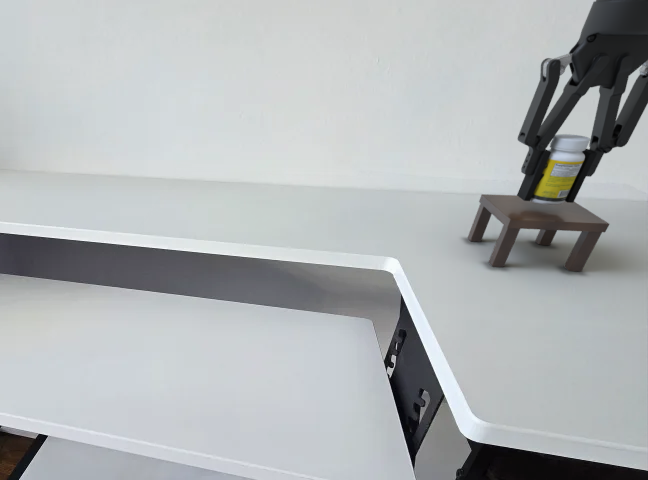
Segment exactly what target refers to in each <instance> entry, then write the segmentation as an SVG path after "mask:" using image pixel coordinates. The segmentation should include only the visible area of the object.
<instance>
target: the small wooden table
mask: <svg viewBox="0 0 648 480" xmlns="http://www.w3.org/2000/svg"><path fill="white" fill-rule="evenodd" d="M478 202H479V206H478V209H477V212H476V214H475V216H474V219H473V222H472V224H471V227H470V230H469V233H468V236H467V239H468V240H469V242H474V243H475V242H478V243H479V242H482V240H483V237H484V235H485V232H486V230H487V227H488V225H489V222H490V220H491V217H492V216H494V218H496V219H497V221H499V222H500V223H501V224H502V228H501V229H500V230H501V231H500V232H499V235H498V237H497V240H496V242H495V245H494V248H493V250H492V252H491V254H490V257H489V259H488V264H489V265H490V266H491V267H493V268H494V267H495V268H496V267H497V268H504V267H505V265H506V263H507V261H508V258H509V256H510V254H511V251H512V249H513V247H514V244H515V242H516V240H517V238H518V235H519V233H520V230H539V232H538V233H537V236H536V238H535V240H534V241H535V243H537V244H538V245H539V246H540V245H541V246H551V245H552V243H553V240H554V238H555V236H556V234H557V232H558V231H566V232H580V234H579V236H578V238H577V240H576V241H575V244H574V246H573V247H572V249H571V252H570V253H569V255H568V258H567V259H566V261H565V263H564V265H563V267H564V268H565V269H566V270H567V271H569V272H582V271H583V268H584V267H585V265H586V264H587V262H588V260H589V258H590V256H591V254H592V252H593V250H594V248H595V247H596V245H597V243H598V241H599V239H600V237H601V235H602V233H606V232H607V230H608V228H609V226H610V222H607V221H606V220H604V219H603V218H601V217H599V216H598V215H596V214H595V213H593V212H591V211H590V210H588V209H587V208H585V207H584V206H582V205H581V204H579V203H577V202H576V201H574V202H573V203H569V202H566V201H564V202H563V203H562V204H559V205H546V204H538V203H534V202H531V201H524V200H522V199H521V198H520V197H519V196H517V194H516V195H515V194H513V195H512V194H489V193H488V194H486V193H485V194H484V193H482V194H481V195H480V197H479V200H478Z"/></svg>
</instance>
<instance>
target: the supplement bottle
mask: <svg viewBox="0 0 648 480" xmlns="http://www.w3.org/2000/svg"><path fill="white" fill-rule="evenodd" d="M590 139H591V137H588V136H586V135H585V136H584V135H578V134H570V133H569V134H567V133H562V134H561V133H560V134H556V135H555V136H554V138H553V139H552V140H551V142H550V143H549V149H547V150H548V151H550V152H551V154H550V156H549V159H548V161H547V163H546V166H545V168H544V170H543V173H542V175H541V177H540V179H539V182H538V184H537V186H536V189H535V191H534V193H533V196H532V198H531V200H530V201H531V202H534V203H538V204H546V205H559V204H562V203H563V202H564V201H565V199H566V197H567V195H568V193H569V191H570V189H571V187H572V185H573V183H574V180H575V178H576V176H577V174H578V172H579V170H580V168H581V166H582V164H583V162H584V159H585V155H584V154H583V153H582V151H584V150H586V149H588V146H589V144H590Z"/></svg>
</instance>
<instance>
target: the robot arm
mask: <svg viewBox="0 0 648 480" xmlns="http://www.w3.org/2000/svg"><path fill="white" fill-rule="evenodd" d="M568 66H569V69H570V74H571V76H570V78H569V79H568V81H567V83H565V85H564V87H563V90H562V93H561V94H560V96H559V98H558V99H557V100H556V102H555V104H554V105H553V107H552V108H551V109H550V111H549V113H548V114H547V112H548V109H549V107H550V104H551V102H552V101H553V97H554V95H555V93H556V90H557V87H558V85H559V82H560V79H561V76H562V75H563V74H565V71H566V68H567V67H568ZM638 69H639V75H638V76H637V78H636V79H635V81H634V83H633V85H632V87H631V89H630V91H629V93H628V95H627V97H626V99H625V102H624V103H623V106H622V107H621V110H620V111H619V109H620V104H621V101H622V96H623V95H624V94H625V92H626V90H627V86H628V82H629V81H628V80H629V77H630V76H631V75H632V74H633V73H634V72H636V71H637V70H638ZM539 74H540V75H539V76H540V78H539V82H538V83H537V87H536V89H535V91H534V94H533V96H532V99H531V102H530V104H529V107H528V110H527V112H526V115H525V117H524V120H523V123H522V125H521V127H520V130H519V133H518V135H517V141H518V142H519V143H520V144H523V145H525V146H527V147H528V151H527V153H526V156H525V158H524V161H523V162H522V163H523V164H522V166H521V168H520V173H522V174H524V177H523V179H522V181H521V182H522V183H521V185H520V187H519V189H518V191H517V194H516V195H517V196H519V197H520V198H521V199H522V200H524V201H530V200H531V198H532V196H533V193H534V191H535V189H536V186H537V184H538V182H539V179H540V177H541V175H542V173H543V170H544V168H545V166H546V163H547V161H548V159H549V156H550V154H551V152H550V151H548V150H549V149H547V148H548V146H550V143H551V142H552V140H553V138H554V136H555V135H557V133H558V132H559V131H560V129H561V127H562V126H563V125H564V123H565V121H566V120H567V119H568V117H569V116H570V114H571V113H572V111H573V110H574V109H575V107H576V105H577V104H578V102H579V101H580V100H581V98H582V97H584V96H585V95H586V94H587V93H588V92H589V90H590V88H596V87H599V88H598V94H599V97H598V103H597V108H596V112H595V117H594V122H593V124H592V125H593V126H592V130H591V134H590V135H591V136H590V141H589V143H588V146H589V148H586V150H584V151H582V153H583V154H584V155H585V159H584V162H583V164H582V166H581V168H580V170H579V172H578V174H577V176H576V178H575V180H574V183H573V185H572V187H571V189H570V191H569V193H568V195H567V197H566V199H565V201H566V202H569V203H573V202H575V200H576V198H577V196H578V194H579V192H580V190H581V188H582V185H583V184H584V181H585V180H586V178H587V177H590V178H591V177H592V176H593V175H594V174H595V172H596V171H597V168H598V167H599V165H600V162H601V160H602V158H603V157H604V155H605V154H608V153H609V154H610V152H611V151H612V150H613V149H615V148H623V147H625V146H626V145H627V144H628V143H629V142H630V138H631V137H632V135H633V133H634V131H635V129H636V127H637V125H638V123H639V121H640V120H641V117H642V115H643V113H644V112H645V110H646V108H647V105H648V0H595V1H593V2H592V5H591V7H590V10H589V11H588V14H587V17H586V18H585V21H584V24H583V26H582V28H581V32H580V36H579V39H578V40H577V41H576V43H575V44H574V45H573V47H572V48H571V49H570V50H569V52H568V53H566V54H563V55H560V56H557V57H552V58H551V57H546V58H545V59H543V60H542V61H541V63H540V73H539ZM546 114H547V116H546ZM545 117H546V118H545Z"/></svg>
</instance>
